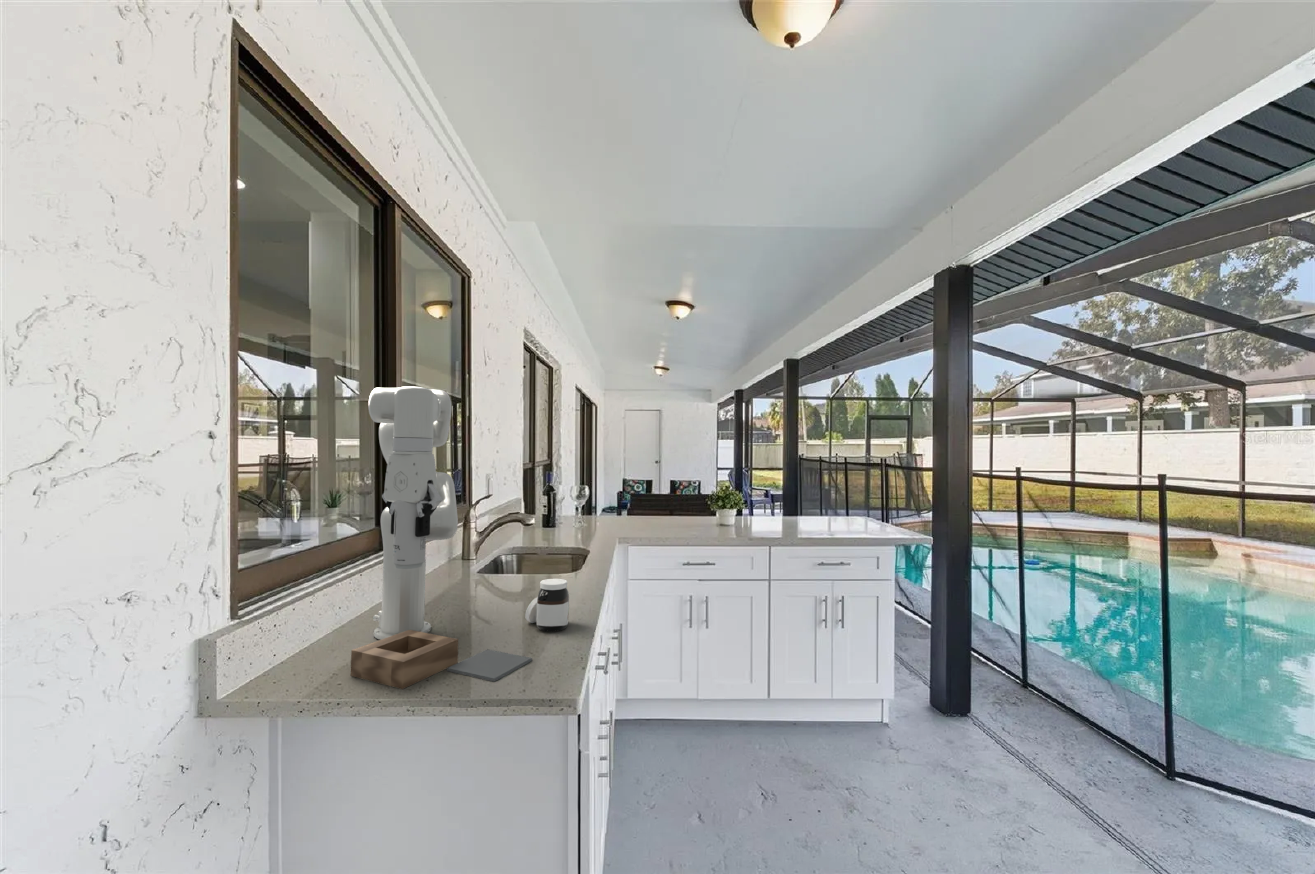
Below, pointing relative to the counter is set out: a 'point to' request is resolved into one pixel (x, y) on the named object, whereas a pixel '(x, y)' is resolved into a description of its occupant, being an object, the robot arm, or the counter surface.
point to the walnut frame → (404, 658)
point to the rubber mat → (489, 665)
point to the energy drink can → (407, 537)
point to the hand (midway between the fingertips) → (410, 534)
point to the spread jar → (550, 606)
